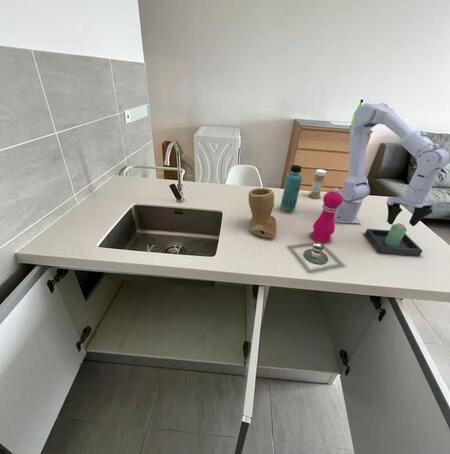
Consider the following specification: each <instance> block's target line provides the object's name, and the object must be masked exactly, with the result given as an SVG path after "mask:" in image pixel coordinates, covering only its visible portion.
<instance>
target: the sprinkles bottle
mask: <svg viewBox="0 0 450 454" xmlns="http://www.w3.org/2000/svg"><path fill="white" fill-rule="evenodd" d="M326 175H327V170H325V169H322V168H319V169H315V175H314V179H313V182H312V186H311V191H310V194H309V197H310V198H312V199H319V198H320V195H321V192H322V190H323V189H322V188H323V184H324V180H325V177H326Z"/></svg>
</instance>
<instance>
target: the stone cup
mask: <svg viewBox="0 0 450 454" xmlns="http://www.w3.org/2000/svg"><path fill="white" fill-rule="evenodd" d="M248 205H249V208H250V212H251V218H250V222H249V223H250V225H249V231H250V232H251V233H252V234H254V235H256V236H258V237H261V238H267V239H273V238H276V237H277V232H278V231H277V220H276V219H277V218H276V217H275V216H272V213H273V210H274V205H275V193H274V191H273V190H272V189H271V188H268V187H256V188H253V189H250V190H249V192H248Z"/></svg>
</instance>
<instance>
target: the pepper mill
mask: <svg viewBox="0 0 450 454" xmlns="http://www.w3.org/2000/svg"><path fill="white" fill-rule="evenodd" d="M342 201H343V198H342V195H341V192H339V188H338V187H334V188H333V189H332V191H331V190H330V191H328V192H326V193H325V194H324V195H323V198H322V207H321V208H322V211H321V214H320V215H319V217H318V218H317V219H316V220H315V222H314V223H313V225H312V229H313V231H312V233H311V238H312V239H313V240H314V241H315V242H320V243H322V244H326V243H329V242H330V240H331V236H332V235H333V234H334V233H335V229H336V226H335V225H336V224H335V220H334V215H335V212H337V211H338V206H340V205H341V204H342Z"/></svg>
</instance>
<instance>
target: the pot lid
mask: <svg viewBox="0 0 450 454" xmlns="http://www.w3.org/2000/svg"><path fill="white" fill-rule="evenodd" d="M324 246H325V245H324V243H321V242H318V241H314V242H313V243H312V247H311V248H308V249H306V250H304V251H303V256H304V258H305V259H306V261H308V262H310V263H312V264H314V265H325V264H326V263H328V261H329V257H328V255H327V254H326V253H325V252H323V250H324Z"/></svg>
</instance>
